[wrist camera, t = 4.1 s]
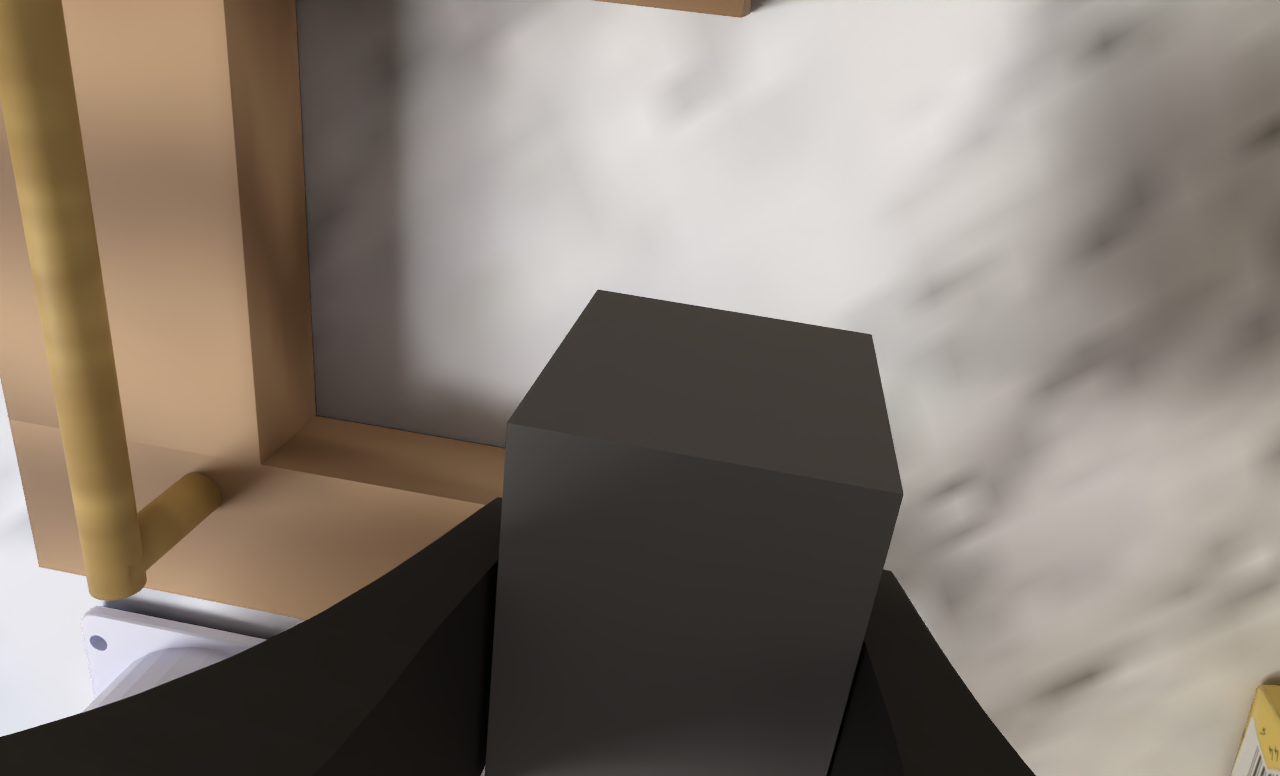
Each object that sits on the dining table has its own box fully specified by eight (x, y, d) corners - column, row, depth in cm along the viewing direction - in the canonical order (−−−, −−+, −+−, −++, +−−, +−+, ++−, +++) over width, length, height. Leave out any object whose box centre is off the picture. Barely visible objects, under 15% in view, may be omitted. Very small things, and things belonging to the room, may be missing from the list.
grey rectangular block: (785, 701, 14) (778, 951, 10) (560, 655, 14) (478, 880, 11) (871, 334, 11) (903, 494, 8) (597, 289, 12) (507, 422, 8)
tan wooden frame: (664, 618, 23) (622, 806, 18) (110, 513, 24) (-81, 656, 19) (766, -109, 16) (748, -154, 11) (-3, -186, 18) (-340, -259, 13)
